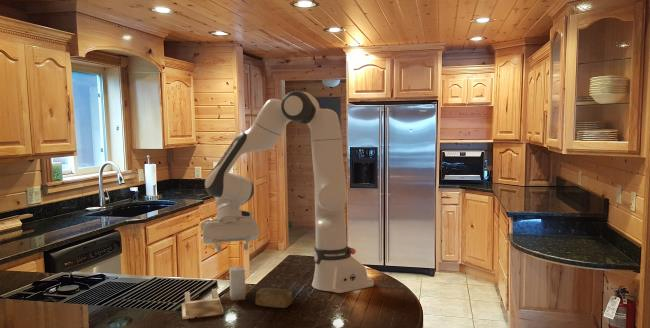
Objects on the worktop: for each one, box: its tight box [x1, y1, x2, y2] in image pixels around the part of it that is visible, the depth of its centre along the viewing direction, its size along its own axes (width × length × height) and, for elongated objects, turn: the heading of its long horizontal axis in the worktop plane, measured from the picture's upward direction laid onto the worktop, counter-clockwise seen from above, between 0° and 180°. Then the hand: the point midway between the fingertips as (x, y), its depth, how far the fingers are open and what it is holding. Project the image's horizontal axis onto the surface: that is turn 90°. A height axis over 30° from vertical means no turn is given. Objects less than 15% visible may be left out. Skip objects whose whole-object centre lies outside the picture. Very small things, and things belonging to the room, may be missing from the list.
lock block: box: [228, 265, 246, 302], centre depth 152 cm, size 4×5×10 cm
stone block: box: [254, 287, 294, 309], centre depth 145 cm, size 6×12×5 cm, turn 75°
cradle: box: [181, 288, 224, 320], centre depth 141 cm, size 12×12×4 cm
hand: (232, 250), depth 161 cm, fingers open, 8 cm apart
